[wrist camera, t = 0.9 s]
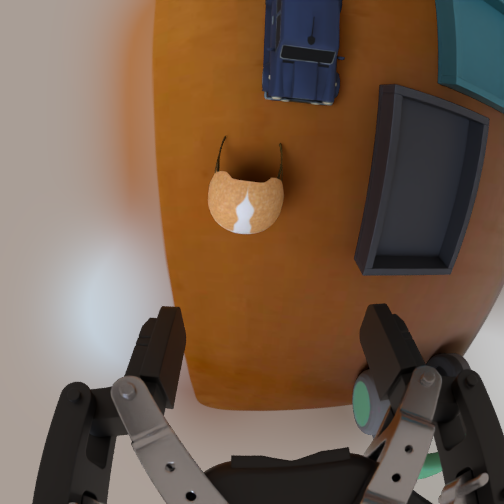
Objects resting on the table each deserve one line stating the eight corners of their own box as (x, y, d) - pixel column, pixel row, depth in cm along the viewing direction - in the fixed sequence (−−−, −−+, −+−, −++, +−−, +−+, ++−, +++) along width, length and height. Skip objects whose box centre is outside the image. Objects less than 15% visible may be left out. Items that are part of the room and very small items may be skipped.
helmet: (219, 154, 26) (206, 236, 25) (217, 116, 19) (199, 220, 18) (279, 161, 26) (271, 244, 25) (295, 127, 20) (287, 231, 19)
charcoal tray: (379, 84, 20) (395, 84, 17) (470, 114, 20) (489, 118, 17) (353, 258, 28) (362, 275, 26) (437, 260, 29) (450, 274, 26)
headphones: (345, 393, 42) (366, 498, 25) (362, 353, 36) (398, 481, 19) (434, 376, 42) (467, 461, 24) (458, 336, 36) (507, 430, 19)
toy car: (261, 100, 21) (264, 99, 16) (266, -22, 15) (270, -50, 10) (331, 106, 21) (353, 109, 16) (335, -13, 15) (355, -36, 10)
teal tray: (430, -32, 11) (445, -40, 9) (515, 23, 12) (531, 22, 9) (437, 83, 19) (456, 84, 16) (518, 122, 19) (535, 127, 16)
